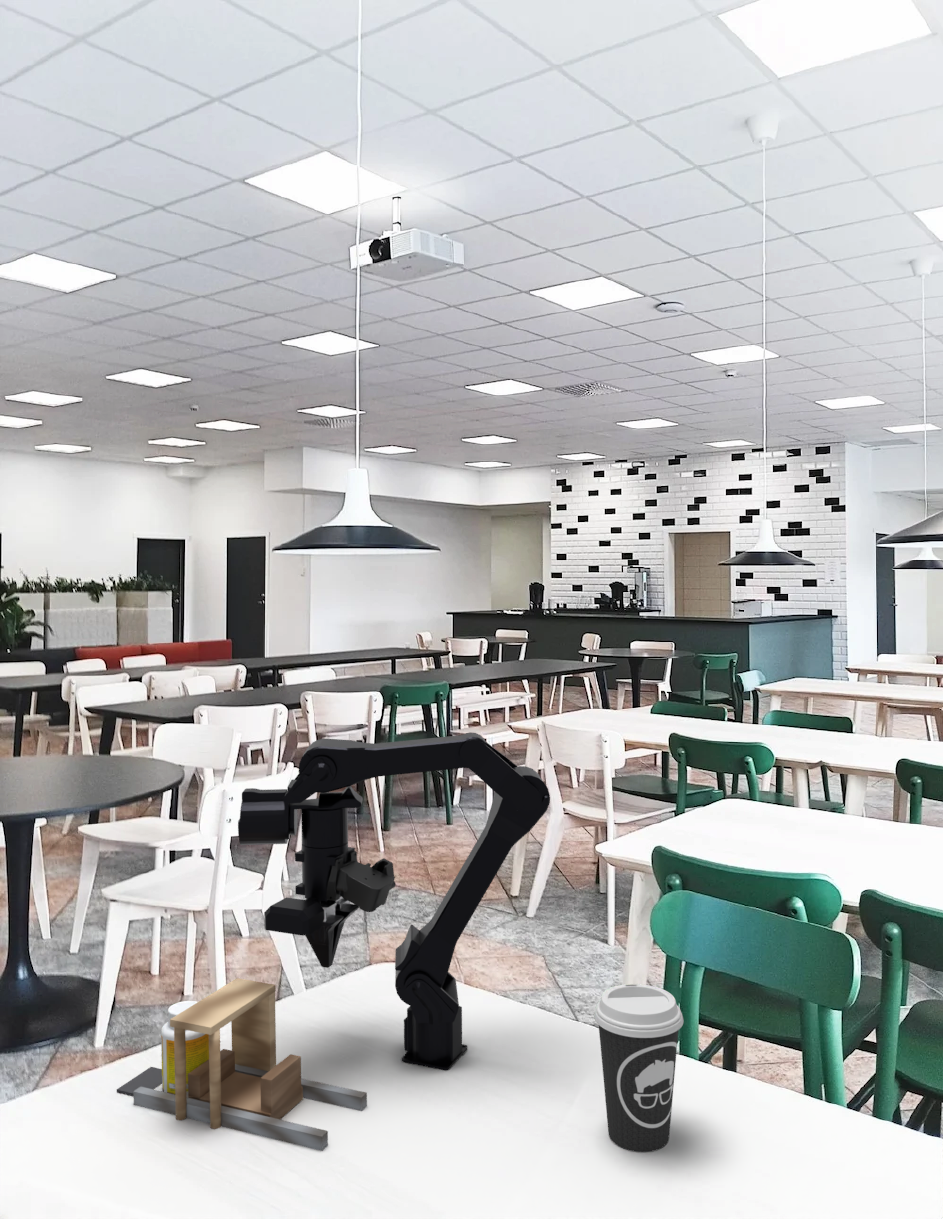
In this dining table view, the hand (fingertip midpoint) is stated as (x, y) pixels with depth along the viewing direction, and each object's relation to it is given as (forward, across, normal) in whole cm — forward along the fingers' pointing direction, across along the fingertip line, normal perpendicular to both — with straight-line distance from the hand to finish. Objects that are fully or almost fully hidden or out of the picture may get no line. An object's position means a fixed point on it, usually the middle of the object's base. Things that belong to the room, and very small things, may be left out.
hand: (326, 966), depth 127 cm
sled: (+12, -13, +3) cm, 18 cm away
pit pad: (+12, -13, +17) cm, 25 cm away
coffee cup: (+12, -2, -40) cm, 42 cm away
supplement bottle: (+12, -13, +11) cm, 21 cm away
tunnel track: (+12, -13, +3) cm, 18 cm away
